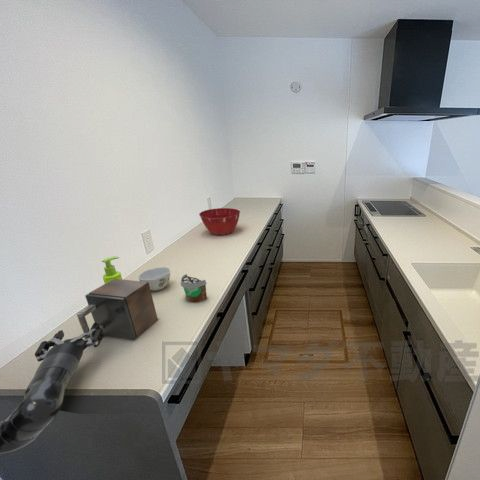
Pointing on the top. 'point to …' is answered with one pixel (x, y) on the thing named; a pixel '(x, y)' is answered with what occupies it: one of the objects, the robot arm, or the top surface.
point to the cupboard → (132, 301)
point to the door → (108, 316)
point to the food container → (194, 288)
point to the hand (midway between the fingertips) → (79, 328)
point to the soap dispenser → (110, 270)
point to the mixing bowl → (220, 220)
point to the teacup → (156, 278)
